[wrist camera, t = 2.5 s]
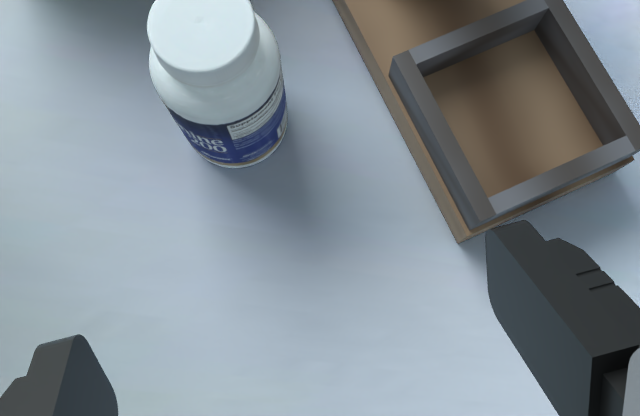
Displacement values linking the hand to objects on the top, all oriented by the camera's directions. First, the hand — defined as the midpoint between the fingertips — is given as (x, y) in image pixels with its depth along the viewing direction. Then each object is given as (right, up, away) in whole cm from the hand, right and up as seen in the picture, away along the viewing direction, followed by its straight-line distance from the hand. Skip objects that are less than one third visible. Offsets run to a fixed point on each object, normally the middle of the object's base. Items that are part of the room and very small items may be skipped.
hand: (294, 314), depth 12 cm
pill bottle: (-4, +7, +20) cm, 21 cm away
